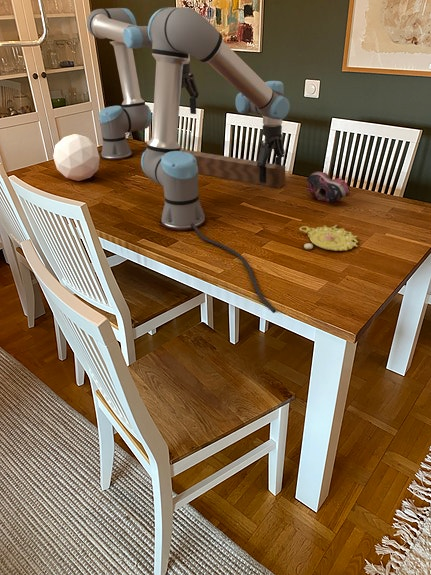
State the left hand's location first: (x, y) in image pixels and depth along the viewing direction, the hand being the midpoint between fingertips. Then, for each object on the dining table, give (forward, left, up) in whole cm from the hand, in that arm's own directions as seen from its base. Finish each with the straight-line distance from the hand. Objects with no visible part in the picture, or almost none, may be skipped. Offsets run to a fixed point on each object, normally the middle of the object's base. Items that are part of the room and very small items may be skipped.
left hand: (184, 116), depth 194 cm
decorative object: (+83, -37, -23) cm, 94 cm away
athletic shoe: (+68, -5, -23) cm, 72 cm away
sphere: (-34, -35, -23) cm, 54 cm away
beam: (+22, 0, -23) cm, 32 cm away
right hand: (+43, 0, -20) cm, 48 cm away
